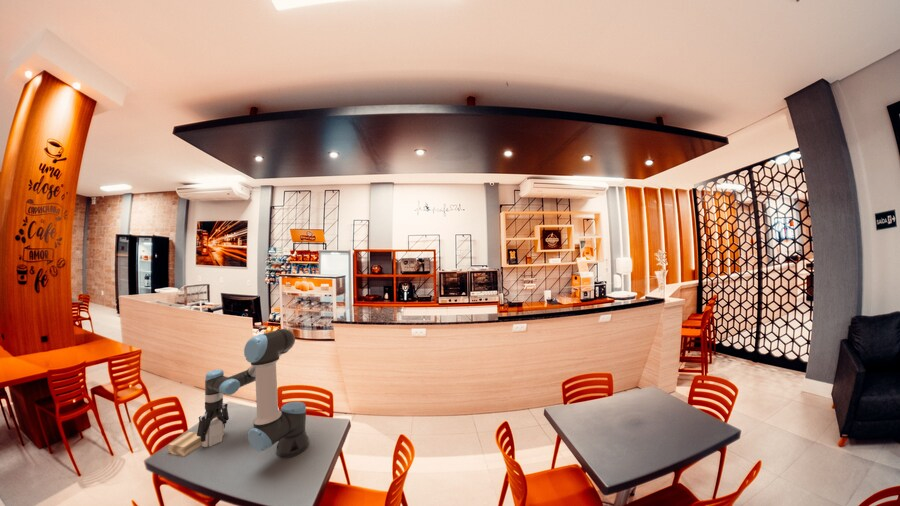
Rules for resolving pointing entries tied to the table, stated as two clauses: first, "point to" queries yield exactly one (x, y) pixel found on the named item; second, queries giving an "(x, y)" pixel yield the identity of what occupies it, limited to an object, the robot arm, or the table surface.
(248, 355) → the robot arm
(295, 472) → the table surface
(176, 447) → the oak block
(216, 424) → the small box
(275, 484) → the table surface
